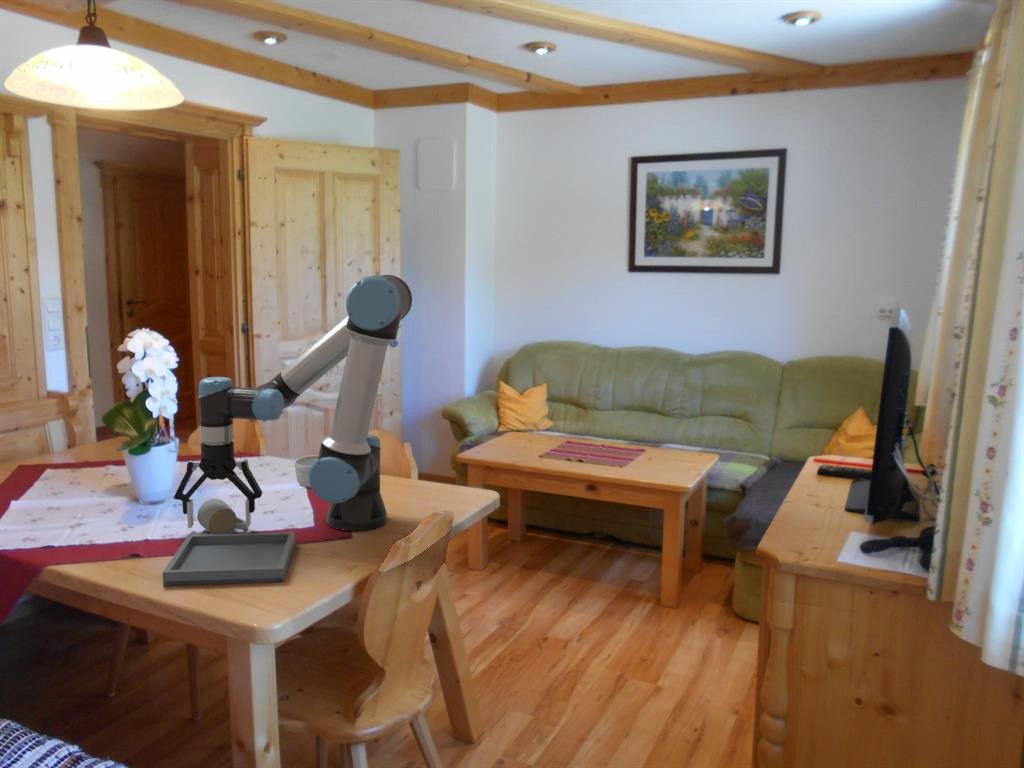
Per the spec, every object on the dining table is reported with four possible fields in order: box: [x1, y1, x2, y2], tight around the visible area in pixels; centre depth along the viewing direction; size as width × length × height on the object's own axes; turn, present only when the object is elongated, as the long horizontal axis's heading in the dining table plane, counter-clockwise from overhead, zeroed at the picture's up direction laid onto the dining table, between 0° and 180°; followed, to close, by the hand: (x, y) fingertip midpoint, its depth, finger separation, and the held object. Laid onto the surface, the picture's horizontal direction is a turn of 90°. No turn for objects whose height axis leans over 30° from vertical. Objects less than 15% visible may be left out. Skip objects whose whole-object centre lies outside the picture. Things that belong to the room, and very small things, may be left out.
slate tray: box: [162, 531, 296, 587], centre depth 176 cm, size 24×22×3 cm
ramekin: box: [293, 454, 319, 489], centre depth 238 cm, size 13×13×7 cm
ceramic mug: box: [197, 498, 247, 534], centre depth 196 cm, size 11×8×8 cm
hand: (219, 525), depth 196 cm, fingers open, 13 cm apart
